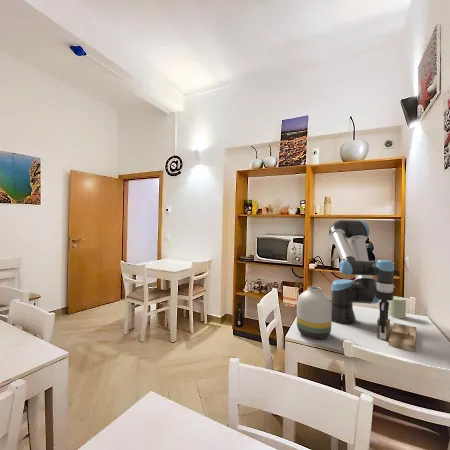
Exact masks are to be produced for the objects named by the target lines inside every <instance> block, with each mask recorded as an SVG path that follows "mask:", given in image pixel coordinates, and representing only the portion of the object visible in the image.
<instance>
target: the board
mask: <svg viewBox="0 0 450 450" xmlns="http://www.w3.org/2000/svg"><path fill="white" fill-rule="evenodd" d="M391 331H396V332H400V333H405V334H408V332H410V335H413V336H414V339H412V338H408V337H404V336H399V335H395V334H391V333H390V338H389V341H388V346H391V347H395V348H398V349H402V350H406V351H410V352H416V339H417V326H411V325H407V324H403V323H397V322H393V325H392V328H391Z"/></svg>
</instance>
